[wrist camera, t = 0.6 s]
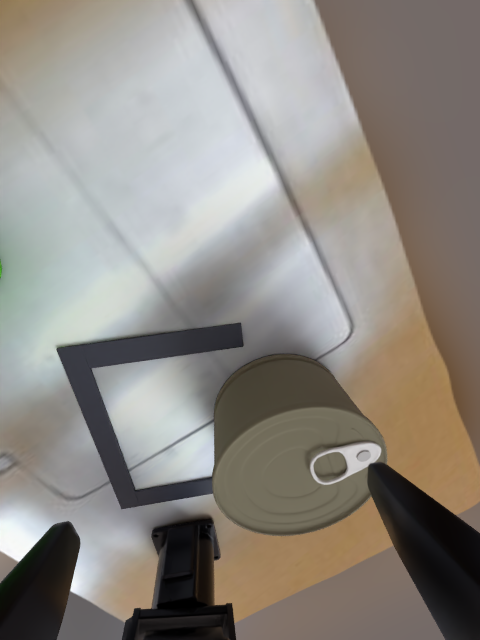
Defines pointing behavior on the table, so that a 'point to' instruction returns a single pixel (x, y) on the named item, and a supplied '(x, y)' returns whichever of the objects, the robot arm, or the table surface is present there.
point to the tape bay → (95, 414)
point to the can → (290, 448)
